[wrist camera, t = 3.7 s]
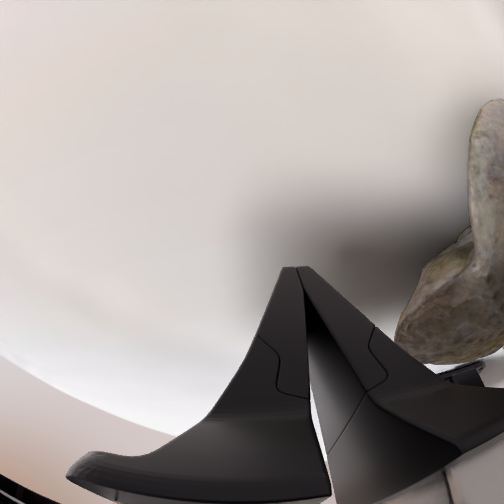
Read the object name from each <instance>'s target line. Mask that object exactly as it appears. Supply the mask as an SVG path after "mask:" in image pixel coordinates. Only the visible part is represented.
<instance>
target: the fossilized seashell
mask: <svg viewBox="0 0 504 504" xmlns="http://www.w3.org/2000/svg"><path fill="white" fill-rule="evenodd" d="M467 183H468V207H469V216H470V223H471V227H469V228H467V229H466V230H465V231H464V232H463V233H461V234H459V237H458V239H457V242H456V243H453V244H452V245H451V246H449V247H448V248H446V249H444V250H443V251H442V252H440V253H439V254H437V255H436V256H435V257H434V258H433V259H432V260H430V261H428V262H427V263H426V264H425V265H424V266H423V268H422V272H421V276H420V279H419V282H418V284H417V286H416V288H415V290H414V292H413V294H412V296H411V298H410V300H409V302H408V303H407V305H406V307H405V309H404V311H403V312H402V314H401V317H400V319H399V322H398V325H397V328H396V332H395V337H394V342H395V343H396V344H397V345H398V346H399V347H401V348H402V349H403V350H405V351H406V352H407V353H408V354H410V355H411V356H412V357H414V358H415V359H416V360H418V361H419V362H420V363H422V364H428V363H430V364H434V365H447V364H448V365H450V364H459V363H465V362H471V361H473V360H476V359H478V358H482V357H485V356H488V355H491V354H493V353H495V352H496V351H498V350H499V349H500V348H501V347H503V346H504V100H502V99H497V100H491V101H489V102H488V103H486V104H485V105H484V106H483V107H482V108H481V109H480V111H479V113H478V116H477V118H476V120H475V122H474V125H473V128H472V132H471V136H470V140H469V154H468V169H467Z"/></svg>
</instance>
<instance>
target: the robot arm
mask: <svg viewBox="0 0 504 504" xmlns="http://www.w3.org/2000/svg"><path fill="white" fill-rule="evenodd" d="M484 368H485V364H484V362H480V363H477V364H474V365H471V366H468V367H465V368H462V369H459V370H456V371H453V372H449V373H446V374H443V375H439V376H438V375H436V374H435V373H434V372H432V371H431V370H430V369H428V368H427V367H426V366H424V365H423V364H422V363H420V362H419V361H418V360H416V359H415V358H414V357H412V356H411V355H410V354H408V353H407V352H406V351H405V350H403V349H402V348H401V347H399V346H398V345H397V344H396V343H395V342H393V341H392V340H391V339H390V338H389V337H388V336H386V335H385V334H384V333H383V332H382V331H381V330H380V329H379V328H378V327H375V325H374V324H373V323H372V322H371V321H370V320H369V319H368V318H367V317H365V316H364V315H363V314H362V313H361V312H360V311H359V310H358V309H357V308H355V307H354V306H353V305H352V304H351V303H350V302H349V301H348V300H347V299H345V298H344V297H343V296H342V295H341V294H340V293H339V292H338V291H336V290H335V289H334V288H333V287H332V286H331V285H330V284H329V283H327V282H326V281H325V280H324V279H323V278H322V277H321V276H320V275H318V274H317V273H316V272H315V271H314V270H313V269H312V268H310V267H309V266H300V267H296V268H295V267H283V268H282V270H281V272H280V275H279V277H278V280H277V282H276V285H275V287H274V290H273V292H272V295H271V297H270V300H269V302H268V305H267V307H266V310H265V312H264V315H263V317H262V320H261V322H260V325H259V327H258V330H257V332H256V334H255V337H254V339H253V341H252V344H251V346H250V348H249V350H248V352H247V354H246V357H245V359H244V360H243V362H242V364H241V366H240V367H239V369H238V371H237V372H236V374H235V375H234V377H233V379H232V380H231V382H230V383H229V385H228V386H227V388H226V389H225V391H224V392H223V394H222V395H221V397H220V398H219V400H218V401H217V403H216V404H215V406H214V407H213V408H212V410H211V411H210V412H209V413H208V415H207V416H206V417H205V418H204V419H203V420H202V421H200V422H199V423H198V424H196V425H195V426H193V427H192V428H190V429H189V430H187V431H186V432H184V433H183V434H181V435H180V436H178V437H176V438H175V439H173V440H172V441H170V442H169V443H167V444H166V445H164V446H162V447H160V448H159V449H157V450H155V451H153V452H151V453H149V454H145V455H141V456H122V455H116V454H112V453H107V452H101V451H91V452H88V453H87V454H85V455H84V456H83V457H82V458H80V459H79V460H78V461H77V462H75V463H74V464H73V465H72V467H70V469H69V471H68V472H67V474H66V478H67V479H68V480H70V481H71V482H73V483H74V484H77V485H79V486H80V487H82V488H84V489H87V490H89V491H91V492H93V493H95V494H97V495H99V496H102V497H104V498H106V499H109V500H111V501H114V504H320V503H321V502H323V501H324V500H326V499H327V498H329V497H330V496H331V495H332V490H331V483H330V479H329V475H328V472H327V468H326V465H325V462H324V458H323V455H322V451H321V448H320V445H319V441H318V438H317V434H316V431H315V428H314V424H313V421H312V415H311V403H310V384H311V388H312V392H313V396H314V401H315V405H316V409H317V414H318V418H319V423H320V427H321V431H322V436H323V441H324V445H325V450H326V454H327V459H328V464H329V469H330V473H331V478H332V483H333V488H334V493H335V498H336V503H337V504H504V388H491V387H485V386H484V384H483V382H482V380H481V378H480V376H479V374H480V373H481V371H482V370H483V369H484ZM0 504H60V503H58V502H55V501H53V500H51V499H49V498H46V497H44V496H42V495H40V494H38V493H36V492H33V491H31V490H29V489H27V488H25V487H23V486H21V485H19V484H18V483H16V482H14V481H12V480H10V479H8V478H6V477H5V476H3V475H1V474H0Z"/></svg>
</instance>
